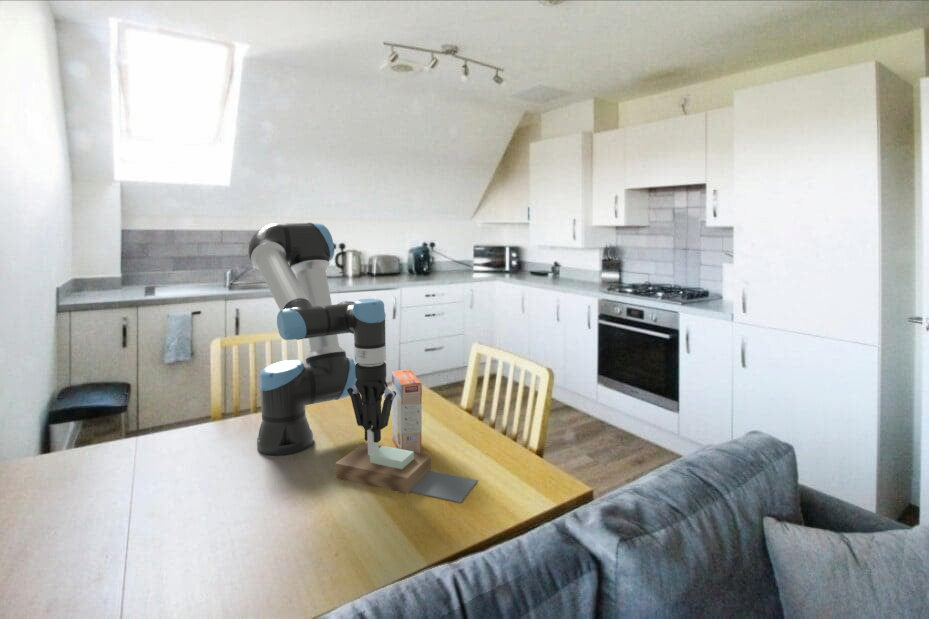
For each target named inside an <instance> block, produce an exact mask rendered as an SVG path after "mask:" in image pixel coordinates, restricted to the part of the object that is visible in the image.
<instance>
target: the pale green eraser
mask: <svg viewBox="0 0 929 619" xmlns="http://www.w3.org/2000/svg"><path fill="white" fill-rule="evenodd" d="M380 446H381V447H380V448H379V449H377V450H376V451H375V452H374V453H372V454H371V455H370V463H374V464H379V465H383V466H388V467H393V468H398V469H403V468H404V467H405V466H407V465H408V464H409V463H410V462H411V461H412V460H413V459H414V452H413V451H408V450H403V449H398V448H397V447H391V446H386V445H380Z"/></svg>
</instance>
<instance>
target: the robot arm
mask: <svg viewBox="0 0 929 619" xmlns="http://www.w3.org/2000/svg"><path fill="white" fill-rule="evenodd" d="M334 249H335V244H334V239H333V236H332V234H331V232H330V230H329V229H328V227H326V226H325V225H324V224H322V223H313V222H302V223H301V222H296V223H295V222H292V223H291V222H289V223H288V222H287V223H286V222H285V223H284V222H283V223H282V222H281V223H279V222H277V223H276V222H274V223H269V224H266V225H265V226H262V227H260V228H259V229H258V230H257V231H256V232H255V233H254V234H253V235H252V237H251V239H250V241H249V244H248V259H249V260H250V262H251V264H252V266H253V267H254V268H255V269H257V270H258V271H260V273H261V274H260V275H261V276H262V277H263V279H264V281H265V283H266V285H267V288H268V290H269V291H270V294H271V295H272V297H273V299H274V301H275V303H276V305H277V307H278V309H279V311H278V312H277V316H276V326H277V330H278V334H279V336H280V338H282V340H284V341H292V340H297V341H298V340H305V339H307V342H308V343H307V344H308V349H309V352H308V354H307V356H306V357H305V363H303V361H302V360H300V359H285V360H280V361H277V362H274V363H271V364H268V365H267V366H265V367H264V368H263V369H262V370H261V371H260V373H259V386H258V387H259V391H260V406H261V424H260V428H259V431H258V436H257V438H256V448H257V450H258V451H259V452H260V453H262V454H265V455H270V456H284V455H285V456H286V455H291V454H295V453H299V452H301V451H303V450H305V449H308V448H309V447H311V445H312V444H313V443H314V433H313V431H312V429H311V427H310V424H309V421H308V418H307V415H306V406H309V405H315V404H320V403H324V402H329V401H338V400H340V399H344V398H347V397H350V400H351V404H352V409H353V412H354V415H355V421H356V424H357V426H358V427H362V428H363V430H364V440H365V441H366V442H367V443H368V455H371V454H372V453H374V452H375V451H376V450H377V449H379V446H380V445H379V442H381V439H382V435H381V434H382V433H381V432H382V431H381V430H383V429H384V428H386V427H387V426H388V425H389V420H390V415H391V412H392V402H393V399H394V397H395V396H396V392H395V391H393V392H392V389H390V388H389V387H388V386H389V385H388V384H387V381H386V379H387V363H386V361H387V346H386V312H385V311H386V310H385V303H384V301H383V300H381V299H378V298H360V299H357V300H355V301H351V300H350V301H347V300H345V301H340V302H339V303H337V304H332V299H331V293H330V292H331V291H330V287H329V282H328V276H327V271H326V270H327V269H328V268H329V266H330V261H332V259H333V258H334V255H335V250H334ZM295 274H296V275H295ZM342 334H353V337H354V338H353V339H354V340H353V341H354V343H353V345H354V358H352V357H350V356H347V354H346V350H345V349H343V348H341V347H340V342H339V337H338V335H342ZM383 395H384V396H383ZM383 398H384V399H383ZM382 401H383V404H382ZM378 445H379V446H378Z"/></svg>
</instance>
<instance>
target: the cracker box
mask: <svg viewBox="0 0 929 619" xmlns="http://www.w3.org/2000/svg"><path fill="white" fill-rule="evenodd" d="M422 384H423V383H422V382H421V381H420V380H419V378H418V377H417V376H416V375H415V374H414V372H413V371H412V370H411V369H400V370H392V371H391V391H392V392H393V391H395V392H396V396H395V397H394V399H393V402H392V407H391V421H392V422H391V424H392V428H391V430H392V431H391V435H392V436H391V437H392V441H393V444H394V445H395V448H398V449H403V450H408V451H413V452H416V453H421V454H423V453H422V452H423V450H422V443H423V442H422V439H423V438H422V426H423V425H422V424H423V422H422V421H423V420H422V418H423V417H422V414H423V413H422V412H423V411H422V410H423V409H422V408H423V407H422V406H423V405H422V403H423V402H422V400H423V399H422V398H423V394H422V392H423V391H422V390H423V389H422V388H423V387H422V386H423V385H422Z"/></svg>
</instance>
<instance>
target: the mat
mask: <svg viewBox="0 0 929 619" xmlns="http://www.w3.org/2000/svg"><path fill="white" fill-rule="evenodd" d="M477 483H478V479H474V478H468V477H465V476H460V475H455V474H448V473H443V472H439V471H435V470H434V471H433V470H431V471H429V472H428V473H427V474H426V475H425V476H424V477H423V478H422V479H421V480H420V481H419V482H418V483H417V484H416V485H415V486H414V487H413V488H412V489H411V490H410V492H409V493H413V494H417V495H421V496H426V497H431V498H436V499H439V500H446V501H448V502H449V501H450V502H453V503H454V502H455V503H457V504H458V503H459V504H462V503H463V501H464V500H465V498H466V497H467V496H468V494H469V493H470V492H471V490H472V489H473V488H474V487H475V486H476V484H477Z"/></svg>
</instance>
